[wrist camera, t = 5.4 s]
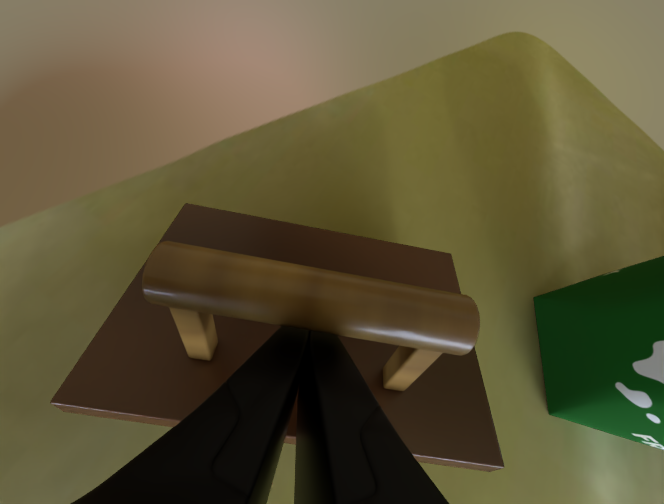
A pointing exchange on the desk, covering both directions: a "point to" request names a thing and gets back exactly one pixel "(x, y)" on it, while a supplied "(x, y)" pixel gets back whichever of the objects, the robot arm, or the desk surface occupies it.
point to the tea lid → (296, 312)
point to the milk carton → (607, 352)
